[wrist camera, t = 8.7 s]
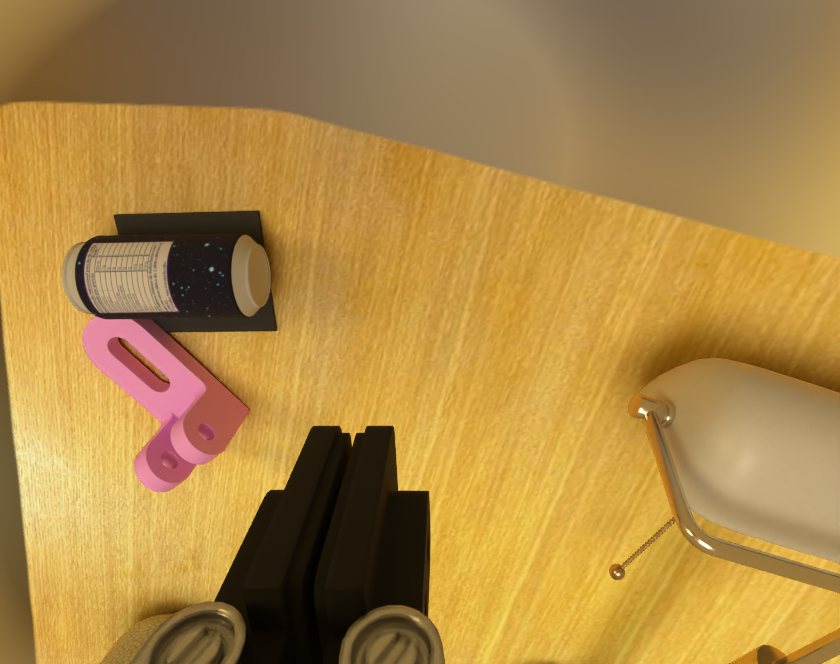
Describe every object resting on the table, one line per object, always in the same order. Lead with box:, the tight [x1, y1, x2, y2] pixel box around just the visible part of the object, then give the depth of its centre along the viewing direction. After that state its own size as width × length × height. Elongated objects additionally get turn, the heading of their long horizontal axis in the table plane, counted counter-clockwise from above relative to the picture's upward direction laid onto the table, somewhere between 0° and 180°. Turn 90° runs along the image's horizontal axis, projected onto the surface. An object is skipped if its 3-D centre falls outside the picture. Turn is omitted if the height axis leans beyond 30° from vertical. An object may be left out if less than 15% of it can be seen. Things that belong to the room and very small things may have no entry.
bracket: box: [83, 316, 250, 492], centre depth 38 cm, size 13×6×7 cm, turn 39°
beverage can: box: [62, 233, 271, 319], centre depth 35 cm, size 6×6×12 cm
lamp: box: [609, 358, 840, 664], centre depth 39 cm, size 27×23×40 cm
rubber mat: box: [114, 211, 277, 332], centre depth 38 cm, size 9×10×1 cm
